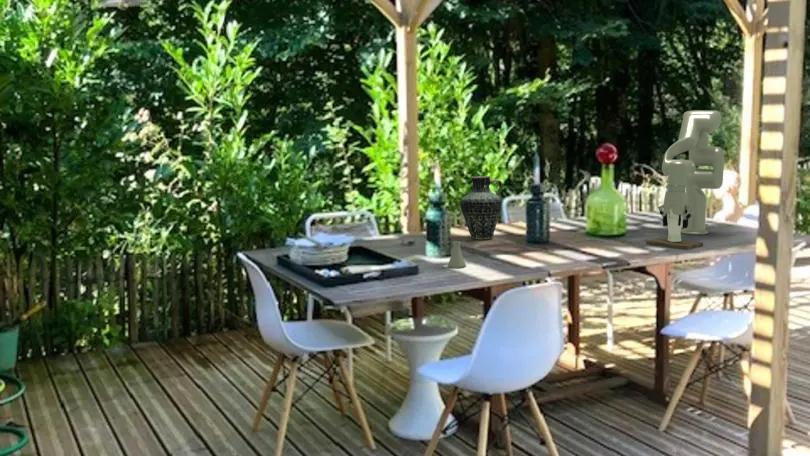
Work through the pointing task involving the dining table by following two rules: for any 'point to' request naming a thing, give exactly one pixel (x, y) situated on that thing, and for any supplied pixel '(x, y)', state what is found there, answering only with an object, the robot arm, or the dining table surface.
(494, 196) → the jug
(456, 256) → the flask
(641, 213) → the dining table surface
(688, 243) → the serving board
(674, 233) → the beer glass
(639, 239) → the dining table surface
